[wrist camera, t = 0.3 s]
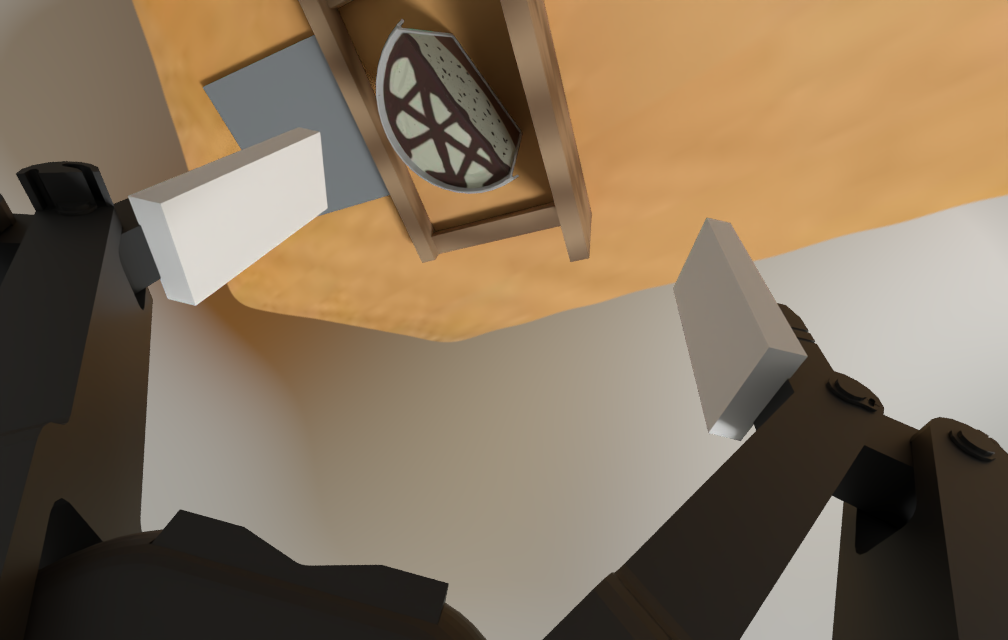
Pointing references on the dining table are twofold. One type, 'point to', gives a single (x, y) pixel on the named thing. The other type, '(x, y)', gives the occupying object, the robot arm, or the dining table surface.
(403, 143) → the food container
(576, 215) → the wooden frame
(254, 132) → the mat
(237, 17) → the dining table surface
